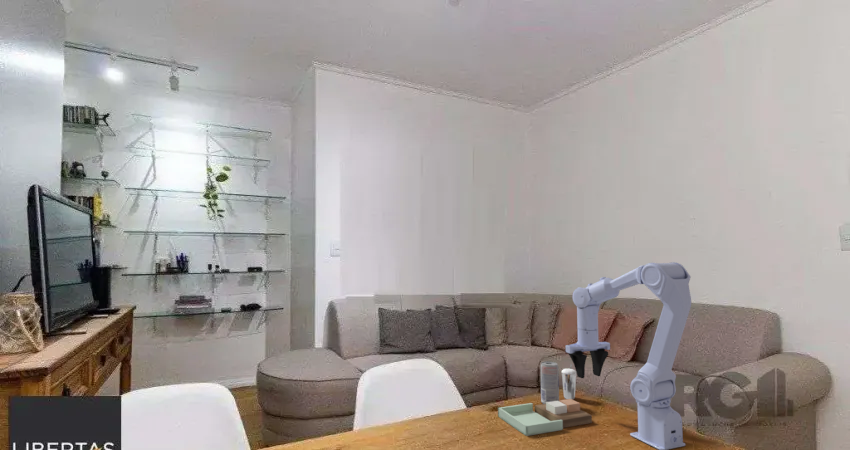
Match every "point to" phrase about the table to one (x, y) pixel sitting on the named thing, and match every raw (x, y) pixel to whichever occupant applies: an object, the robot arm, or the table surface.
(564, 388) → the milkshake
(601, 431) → the table surface
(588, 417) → the board
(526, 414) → the tray
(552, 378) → the energy drink
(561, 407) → the tile
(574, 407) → the tile
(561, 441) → the table surface
